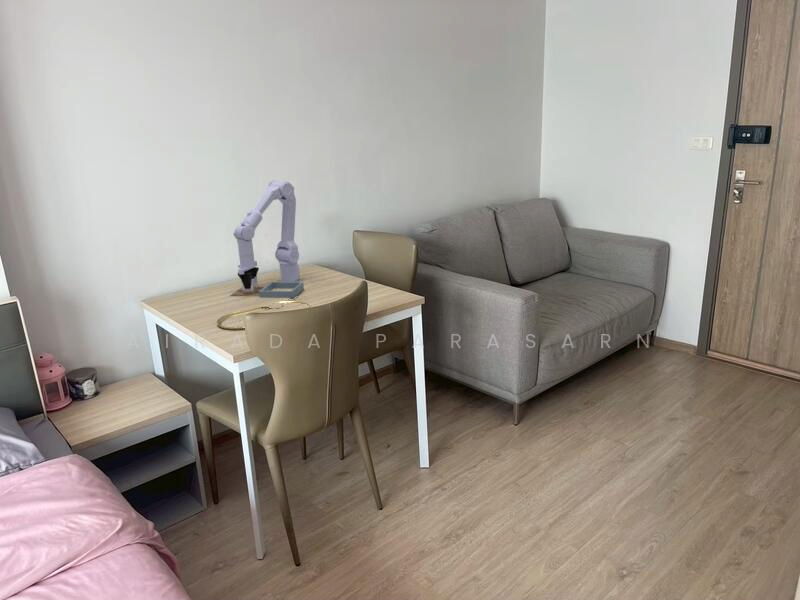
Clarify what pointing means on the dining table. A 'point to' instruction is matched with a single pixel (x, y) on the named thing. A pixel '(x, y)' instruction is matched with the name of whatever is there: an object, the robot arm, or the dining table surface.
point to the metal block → (253, 285)
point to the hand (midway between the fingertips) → (250, 286)
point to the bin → (296, 287)
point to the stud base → (240, 293)
